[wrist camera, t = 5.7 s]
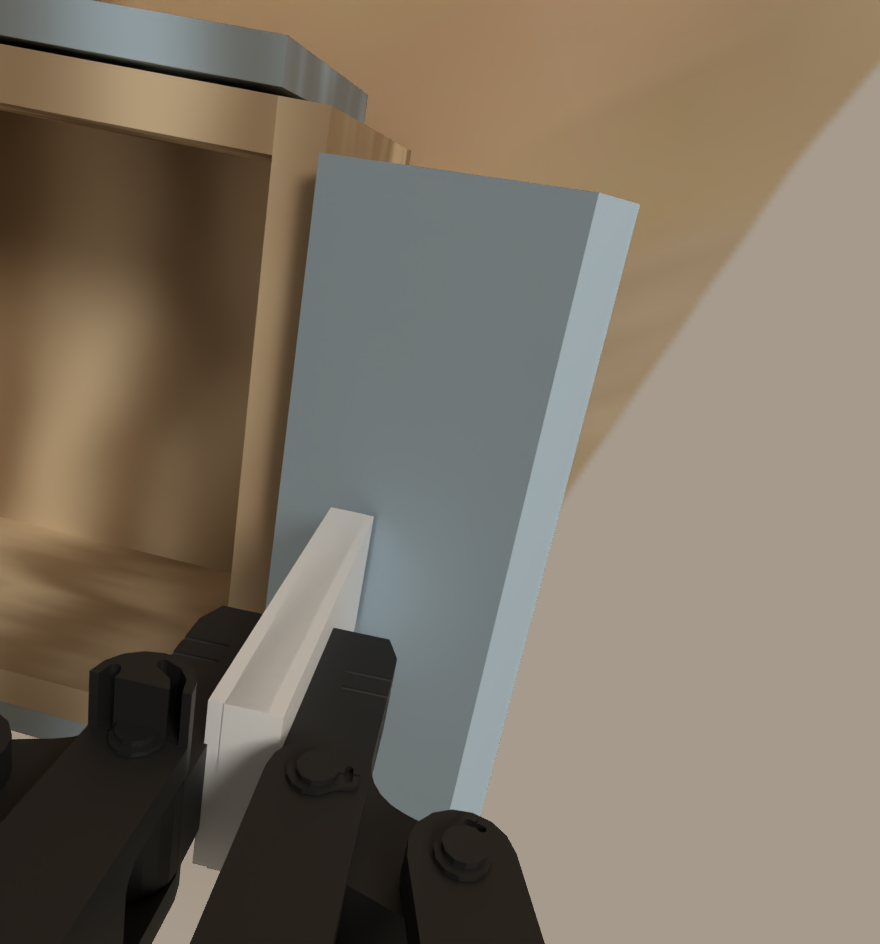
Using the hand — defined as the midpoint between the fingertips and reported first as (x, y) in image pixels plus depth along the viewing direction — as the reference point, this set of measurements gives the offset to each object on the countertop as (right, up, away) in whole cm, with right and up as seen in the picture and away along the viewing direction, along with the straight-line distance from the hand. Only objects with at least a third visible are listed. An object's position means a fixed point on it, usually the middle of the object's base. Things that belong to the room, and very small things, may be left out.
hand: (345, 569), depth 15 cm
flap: (-2, +2, +3) cm, 4 cm away
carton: (-8, +6, +12) cm, 16 cm away
